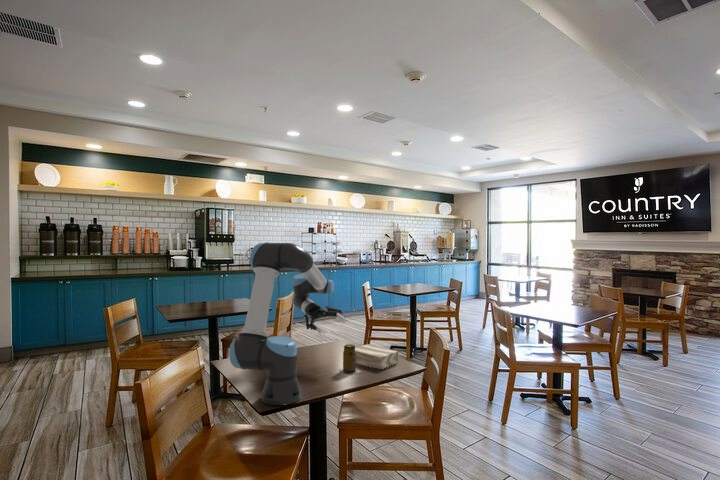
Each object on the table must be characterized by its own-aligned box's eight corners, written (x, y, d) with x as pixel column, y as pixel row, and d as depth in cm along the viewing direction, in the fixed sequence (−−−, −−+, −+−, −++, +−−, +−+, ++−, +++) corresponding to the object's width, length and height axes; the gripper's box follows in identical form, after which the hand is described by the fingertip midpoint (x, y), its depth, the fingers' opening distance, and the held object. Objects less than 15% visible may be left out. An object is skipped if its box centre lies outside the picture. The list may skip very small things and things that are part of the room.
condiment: (350, 367, 188) (350, 342, 188) (361, 371, 182) (361, 346, 182) (338, 370, 184) (338, 345, 184) (349, 375, 177) (349, 349, 177)
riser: (381, 370, 184) (381, 357, 184) (350, 361, 197) (350, 349, 197) (398, 363, 195) (398, 351, 195) (367, 355, 208) (367, 344, 208)
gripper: (332, 307, 209) (354, 322, 193) (290, 324, 196) (311, 342, 179) (330, 294, 206) (353, 309, 190) (288, 311, 193) (309, 328, 177)
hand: (332, 325), depth 185 cm, fingers open, 13 cm apart
